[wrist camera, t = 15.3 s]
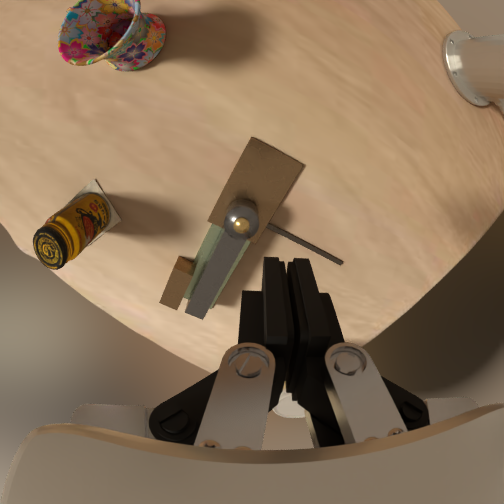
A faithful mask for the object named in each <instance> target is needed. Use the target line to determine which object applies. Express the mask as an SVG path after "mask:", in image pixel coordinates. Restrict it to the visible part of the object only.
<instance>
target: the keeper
mask: <svg viewBox="0 0 504 504" xmlns="http://www.w3.org/2000/svg"><path fill="white" fill-rule="evenodd" d="M222 229H223V228H221V227H219V226H217V225H215V224H212V225H211V227H210V229H209V231H208V233H207V235H206V237H205V239H204V241H203V243H202V245H201V247H200V249H199V251H198V253H197V255H196V257H195V260H194V262H192V261H189V260H187V259H185V258H183V257H181V256H179V257H178V259H177V262H176V264H175V266H174V268H173V271H172V273H171V275H170V278H169V280H168V283H167V285H166V287H165V290H164V292H163V295H162V297H161V300H160V302H159V303H161V304H163V305H166V306H168V307H170V308H172V309H175V310H177V309H178V307H179V305H180V303H181V300H182V298H183V297H184V298H186V299H188V300H189V297H190V295H191V293H192V291H193V289H194V286H195V284H196V282H197V280H198V278H199V276H200V274H201V272H202V270H203V268H204V266H205V263H206V261H207V259H208V257H209V255H210V253H211V251H212V249H213V247H214V245H215V243H216V241H217V239H218V237H219V235H220V233H221V231H222ZM249 244H250V241H248V240H246V242H245V244H244V246H243V247H242V249H241V251H240V253H239V255H238V257H237V258H236V260H235V262H234V264H233V266H232V267H231V269H230V271H229V273H228V275H227V276H226V278H225V280H224V282H223V284H222V286H221V287H220V289H219V291H218V293H217V295H216V296H215V298H214V300H213V302H212V304H211V306H210V307H209V308H210V309H212V307H213V305H214V303H215V302H216V300H217V298H218V297H219V295H220V293H221V291H222V290H223V288H224V286H225V285H226V283H227V281H228V280H229V278H230V276H231V274H232V273H233V271H234V269H235V268H236V266H237V264H238V263H239V261H240V259H241V257H242V256H243V254H244V252H245V251H246V249H247V247H248V246H249Z"/></svg>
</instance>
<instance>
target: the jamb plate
mask: <svg viewBox="0 0 504 504" xmlns="http://www.w3.org/2000/svg"><path fill="white" fill-rule="evenodd" d="M302 166H303V165H302V164H301V163H299V162H297V161H295V160H294V159H292V158H290V157H288V156H287V155H285V154H283V153H281V152H279V151H277V150H276V149H274V148H272V147H270V146H268V145H266V144H264V143H263V142H261V141H259V140H257V139H255V138H253V137H251V139H250V140H249V142H248V144H247V146H246V148H245V150H244V151H243V153H242V155H241V157H240V159H239V161H238V162H237V164H236V166H235V168H234V170H233V172H232V174H231V176H230V178H229V179H228V181H227V183H226V185H225V187H224V189H223V191H222V193H221V195H220V197H219V199H218V201H217V203H216V205H215V207H214V209H213V211H212V213H211V215H210V217H209V219H208V222H210V223H212V224H215V225H217V226H219V227H221V228H223V227H224V220H225V216H226V212H227V208H228V207H229V205H230V204H231V203H232V202H234V201H236V200H239V199H245V200H249V201H251V202H252V203H254V204H255V206H256V207H257V209H258V214H259V229H258V231H257V233H256V234H255V235H254V236H253V237H251V238H250V239H247V240H248V241H250V242H253V243H255V244H256V243H257V241H258V239H259V238H260V236H261V234H262V233H263V231H264V229H265V228H268V229H270V230H272V231H274V232H276V233H278V234H280V235H282V236H284V237H286V238H288V239H290V240H292V241H294V242H296V243H298V244H300V245H302V246H304V247H306V248H308V249H310V250H312V251H314V252H316V253H318V254H320V255H321V256H323V257H325V258H327V259H329V260H331V261H333V262H335V263H337V264H339V265H340V266H341V264H342V263H343V261H341V260H339V259H337V258H335V257H333V256H332V255H330V254H328V253H326V252H324V251H322V250H320V249H318V248H316V247H315V246H313V245H311V244H309V243H307V242H305V241H303V240H301V239H299V238H297V237H295V236H293V235H292V234H290V233H288V232H286V231H284V230H282V229H280V228H278V227H276V226H274V225H272V224H270V223H269V221H270V219H271V218H272V216H273V214H274V213H275V211H276V209H277V208H278V206H279V204H280V203H281V201H282V199H283V198H284V196H285V194H286V193H287V191H288V189H289V188H290V186H291V184H292V183H293V181H294V180H295V178H296V176H297V175H298V173H299V171H300V170H301V168H302Z"/></svg>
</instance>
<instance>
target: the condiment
mask: <svg viewBox="0 0 504 504" xmlns="http://www.w3.org/2000/svg"><path fill="white" fill-rule="evenodd" d="M120 221H122V220H121V218H120V217H119V216H118V214H117V212H116V211H115V209H114V208H113V206H112V205H111V203H110V202H109V200H108V199H107V197H106V196H105V194H104V193H103V191H102V190H101V188H100V187H99V185H98V184H97V182H96V181H95V179H93V180H92V181H91V182H90V183H89V184H88V185H87V186H86V187H85V188H84V189H82V190H81V191H80V192H79V193H78V194H77V195H76V196H75V197H74V198H73V199H72V200H71V201H70V202H69V203H68V204H67V205H66V206H65V207H64V208H63V209H61V210H60V211H58V212H57V213H55V214H54V215H52V216H51V217H50V218H49V219H48V220H47V221H46V223H45V225H43V226H42V227H41V228H40V229H38V230H37V232H36V233H35V235H34V238H33V245H34V250H35V253H36V255H37V257H38V259H39V260H40V261H41V262H42V263H43V264H44V265H45V266H46V267H48V268H50V269H54V270H55V269H56V270H58V269H60V268H62V267H63V266H64V265H65V263H67V262H68V261H70V260H73V259H75V258H76V257H77V256H78V255H79V254H80V253H81V252H82V251H83V249H84V248H85V247H87V246H88V245H90V244H91V243H92V242H94V241H95V240H96V239H97V238H99V237H100V236H101V235H103V234H104V233H105V232H107V231H108V230H109V229H111V228H112V227H113V226H115V225H116V224H117V223H119V222H120Z"/></svg>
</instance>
